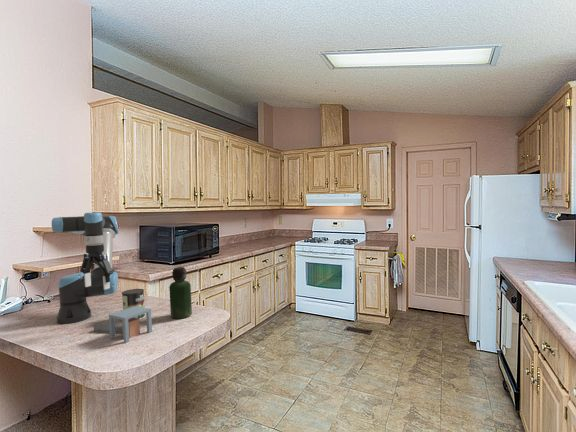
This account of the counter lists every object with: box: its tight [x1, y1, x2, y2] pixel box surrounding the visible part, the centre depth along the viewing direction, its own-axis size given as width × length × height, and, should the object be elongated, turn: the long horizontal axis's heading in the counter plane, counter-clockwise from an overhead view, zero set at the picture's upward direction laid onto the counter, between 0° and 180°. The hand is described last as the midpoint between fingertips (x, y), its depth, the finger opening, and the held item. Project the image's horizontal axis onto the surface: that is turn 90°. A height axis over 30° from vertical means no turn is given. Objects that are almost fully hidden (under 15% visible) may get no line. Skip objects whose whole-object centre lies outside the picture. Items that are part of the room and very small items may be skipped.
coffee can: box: [121, 288, 146, 321], centre depth 167 cm, size 10×10×14 cm
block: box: [121, 317, 141, 339], centre depth 145 cm, size 5×5×7 cm
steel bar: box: [93, 322, 123, 334], centre depth 151 cm, size 18×4×3 cm, turn 81°
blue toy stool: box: [108, 306, 153, 343], centre depth 145 cm, size 11×13×10 cm
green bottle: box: [168, 266, 193, 320], centre depth 168 cm, size 10×10×25 cm
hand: (97, 287), depth 158 cm, fingers open, 13 cm apart
